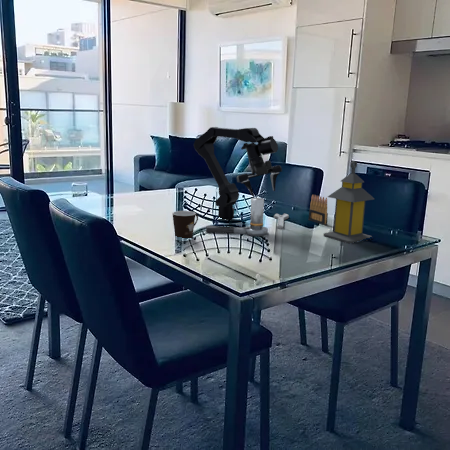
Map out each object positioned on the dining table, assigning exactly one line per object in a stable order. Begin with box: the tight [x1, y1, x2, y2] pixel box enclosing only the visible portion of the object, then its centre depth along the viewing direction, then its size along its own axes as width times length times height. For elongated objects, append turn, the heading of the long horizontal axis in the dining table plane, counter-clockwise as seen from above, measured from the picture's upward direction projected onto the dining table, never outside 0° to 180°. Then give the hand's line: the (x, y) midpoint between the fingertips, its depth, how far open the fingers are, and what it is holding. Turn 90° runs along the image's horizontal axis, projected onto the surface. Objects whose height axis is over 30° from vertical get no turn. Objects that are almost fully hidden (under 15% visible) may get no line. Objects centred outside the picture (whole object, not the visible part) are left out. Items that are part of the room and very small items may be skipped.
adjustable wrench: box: [273, 213, 290, 230], centre depth 218 cm, size 25×6×2 cm, turn 167°
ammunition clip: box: [308, 194, 329, 226], centre depth 218 cm, size 11×2×12 cm, turn 30°
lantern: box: [323, 160, 375, 244], centre depth 192 cm, size 14×14×30 cm
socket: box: [249, 197, 265, 230], centre depth 195 cm, size 5×5×12 cm
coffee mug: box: [172, 210, 199, 239], centre depth 186 cm, size 12×9×10 cm
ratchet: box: [205, 225, 269, 237], centre depth 197 cm, size 24×9×2 cm, turn 86°
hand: (263, 193), depth 209 cm, fingers open, 9 cm apart
